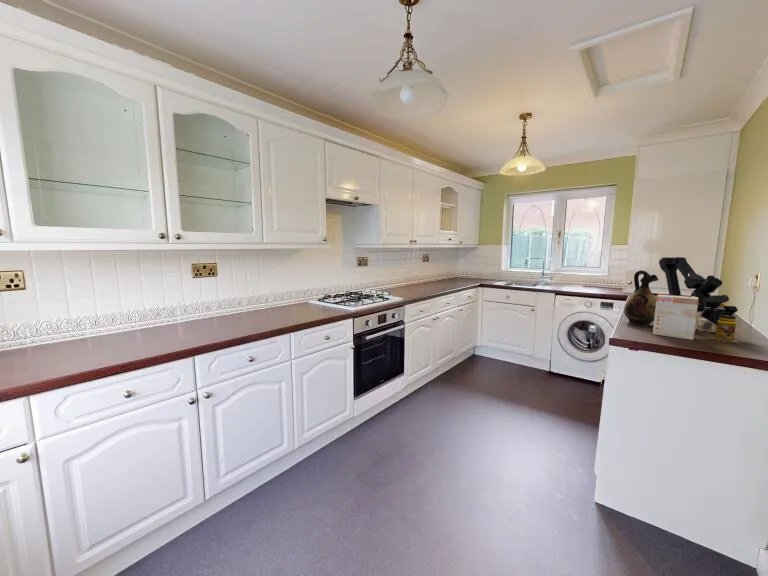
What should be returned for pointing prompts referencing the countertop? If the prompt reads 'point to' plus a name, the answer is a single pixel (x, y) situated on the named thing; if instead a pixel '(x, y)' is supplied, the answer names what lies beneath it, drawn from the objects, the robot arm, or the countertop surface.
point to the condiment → (725, 328)
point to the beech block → (706, 325)
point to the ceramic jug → (641, 301)
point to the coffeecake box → (675, 316)
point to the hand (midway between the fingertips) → (718, 325)
